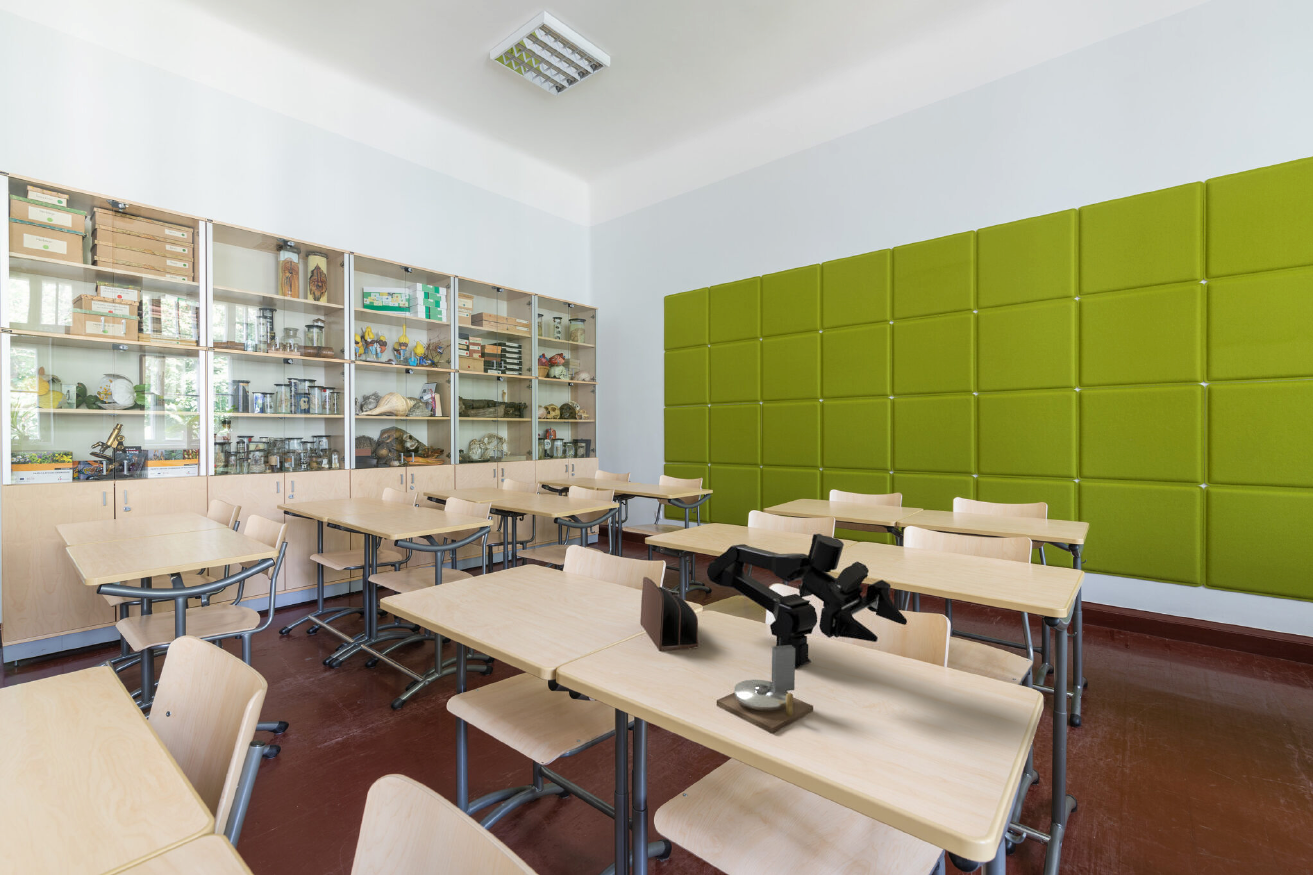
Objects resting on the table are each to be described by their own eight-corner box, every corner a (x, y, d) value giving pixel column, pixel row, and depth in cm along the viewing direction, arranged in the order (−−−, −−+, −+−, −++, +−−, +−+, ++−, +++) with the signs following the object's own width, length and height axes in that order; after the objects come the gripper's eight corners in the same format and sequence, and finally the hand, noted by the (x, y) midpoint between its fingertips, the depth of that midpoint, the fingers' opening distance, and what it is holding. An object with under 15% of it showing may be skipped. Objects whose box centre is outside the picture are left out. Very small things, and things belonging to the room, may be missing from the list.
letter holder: (659, 652, 131) (660, 592, 131) (639, 624, 150) (641, 572, 150) (698, 648, 133) (699, 590, 133) (674, 622, 152) (675, 571, 152)
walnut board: (716, 705, 104) (717, 681, 104) (757, 686, 113) (758, 664, 113) (772, 733, 95) (772, 707, 95) (813, 711, 103) (813, 686, 103)
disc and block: (747, 712, 98) (748, 661, 98) (726, 688, 107) (727, 641, 107) (805, 706, 100) (806, 656, 100) (780, 683, 110) (781, 637, 110)
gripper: (802, 570, 111) (867, 613, 99) (862, 544, 120) (928, 581, 108) (796, 615, 115) (858, 662, 102) (854, 587, 124) (917, 626, 112)
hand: (891, 631), depth 106 cm, fingers open, 9 cm apart
